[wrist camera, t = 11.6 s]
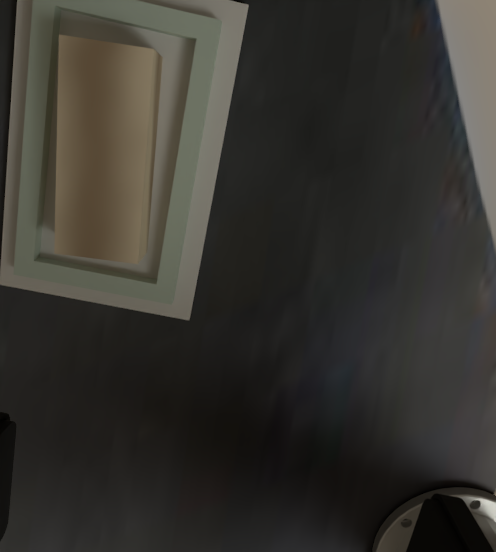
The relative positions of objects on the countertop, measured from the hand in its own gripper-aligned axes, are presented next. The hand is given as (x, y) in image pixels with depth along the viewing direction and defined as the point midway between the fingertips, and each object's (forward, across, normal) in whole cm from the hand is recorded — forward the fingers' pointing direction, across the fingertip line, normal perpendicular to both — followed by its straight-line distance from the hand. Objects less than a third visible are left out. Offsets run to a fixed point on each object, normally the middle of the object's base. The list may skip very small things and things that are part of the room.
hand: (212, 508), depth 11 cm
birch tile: (+22, +9, -6) cm, 24 cm away
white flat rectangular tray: (+22, +9, -6) cm, 25 cm away
